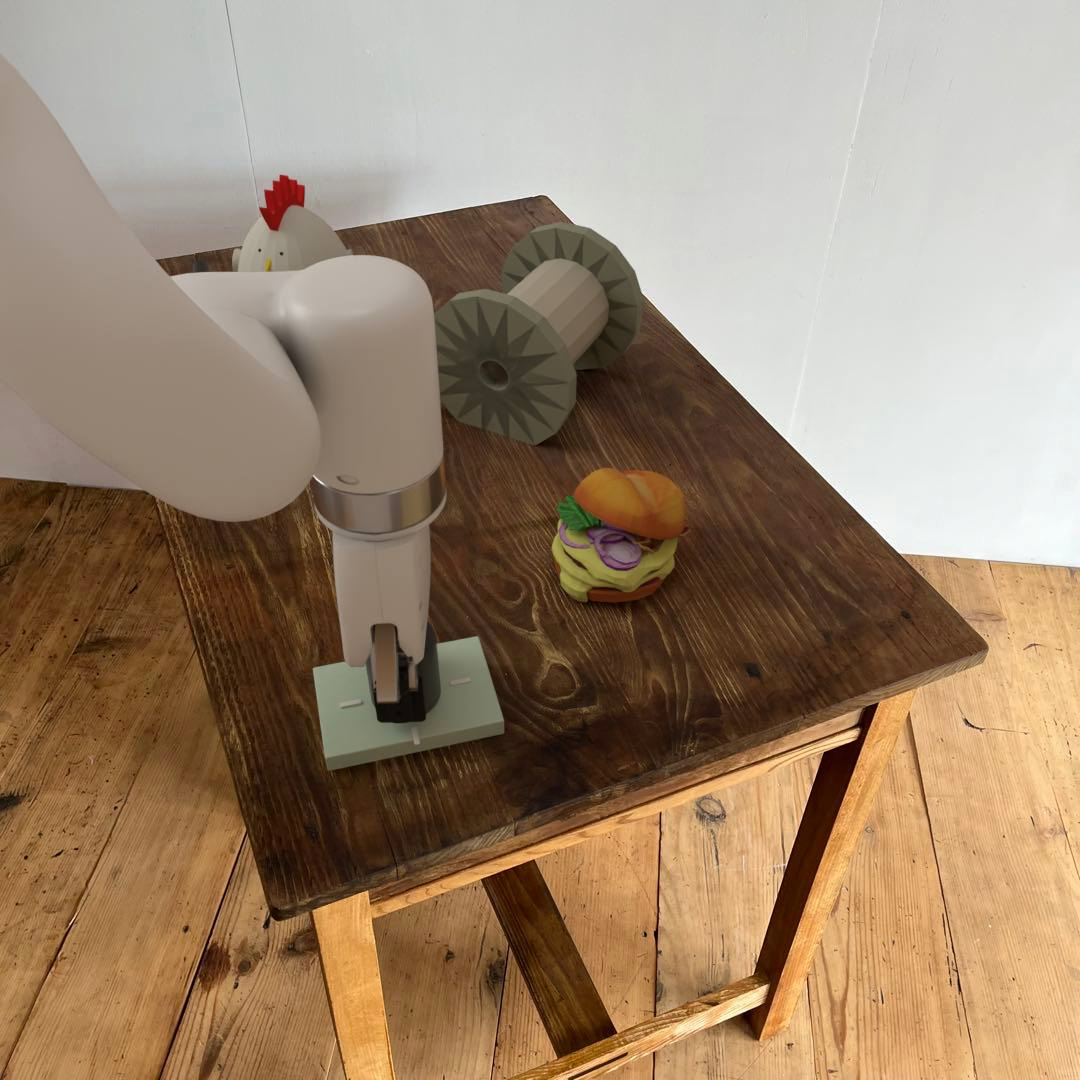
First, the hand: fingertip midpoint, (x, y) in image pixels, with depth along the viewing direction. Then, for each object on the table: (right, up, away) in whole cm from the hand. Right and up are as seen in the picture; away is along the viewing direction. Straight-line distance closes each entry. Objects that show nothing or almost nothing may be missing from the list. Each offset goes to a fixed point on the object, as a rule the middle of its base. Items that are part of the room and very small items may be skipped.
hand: (404, 684), depth 69 cm
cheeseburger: (+15, +8, +15) cm, 23 cm away
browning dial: (0, -1, +1) cm, 1 cm away
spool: (+9, +24, +33) cm, 41 cm away
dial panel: (0, -3, +3) cm, 4 cm away
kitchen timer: (-18, +36, +46) cm, 61 cm away
